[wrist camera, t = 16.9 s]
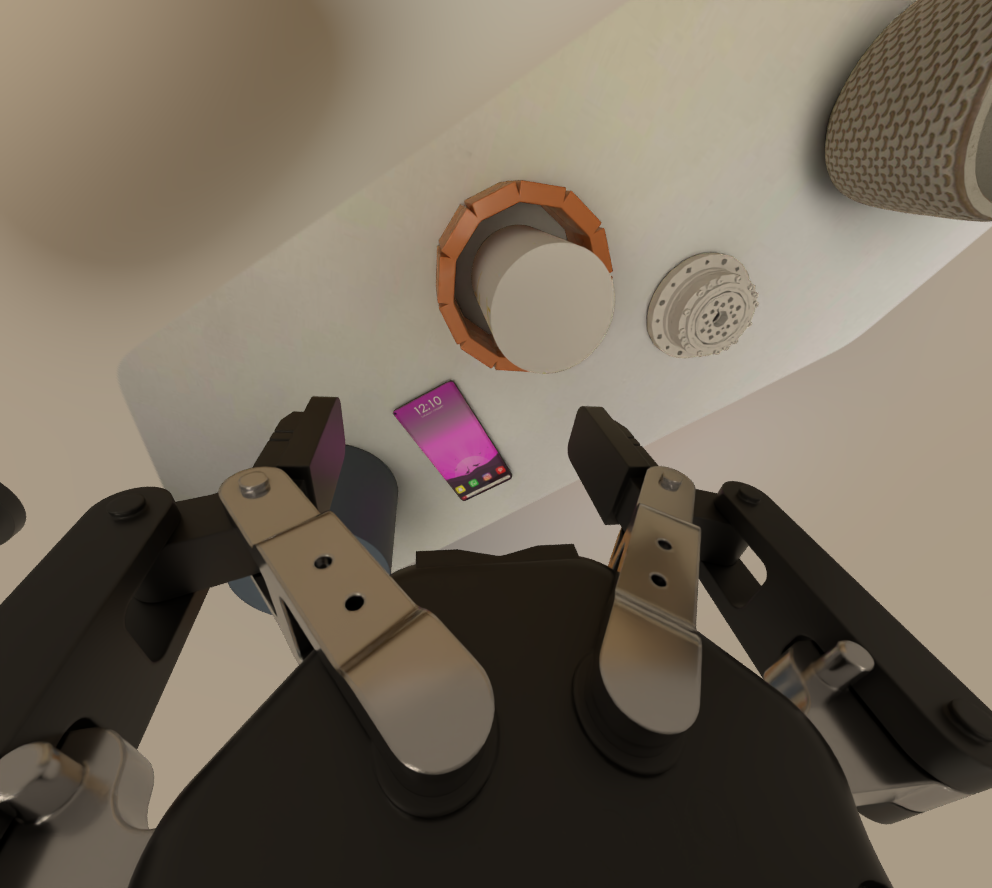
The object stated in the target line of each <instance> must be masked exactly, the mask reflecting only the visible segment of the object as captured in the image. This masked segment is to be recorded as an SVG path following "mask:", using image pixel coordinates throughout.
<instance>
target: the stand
mask: <svg viewBox="0 0 992 888" xmlns="http://www.w3.org/2000/svg"><path fill="white" fill-rule="evenodd" d="M397 499H398V487H397V483H396V480H395V478H394V476H393V474H392V473H391V471H390V470H389V468H388V467H387V466H386V465H385V464H384V463H383V462H382V461H381V460H379V459H378V458H376V457H375V456H373V455H372V454H370V453H368V452H366V451H364V450H361V449H359V448H355V447H352V446H348V445H345V456H344V460H343V464H342V467H341V471H340V474H339V478H338V482H337V485H336V489H335V492H334V496H333V499H332V503H331V506H330V511H332V512H333V513H334V514H335V515H336V516H337V517H338V518H339V519H340V520H341V521H342V522H343V524H344V525H345V526H346V527H347V528H348V529H349V530H350V531H351V532H352V534H353V535H354V536H355V537H356V538H357V539H358V540H359V541H360V543H361V544H362V545H363V546H364V547H365V548H366V549H367V550H368V551H369V553H370V554H371V555H372V556H373V557H374V558H375V559H376V560H377V562H378V563H379V564H380V565H381V566H382V567H383V568H384V569H385V571H386V572H387V573H388V574H389V575H390V574H391V567H392V555H393V544H394V533H395V521H396V510H397ZM228 584H229V586H230V588H231V589H232V591H233V592H234V593H235V594H236V595H237V596H238V597H239V598H240V599H241V600H243V601H244V602H245V603H247V604H249V605H250V606H252V607H254V608H256V609H258V610H260V611H262V612H265V613H268V614H270V615H272V613H271V611H270V610H269V608H268V606H267V604H266V603H265V601H264V599H263V598H262V596H261V594H260V592H259V591H258V589H257V587H256V586H255V584H254V582H253V581H252V579H251V577H250V576H247V577H244V578H241V579H237V580H234V581H231V582H228Z"/></svg>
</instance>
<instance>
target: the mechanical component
mask: <svg viewBox="0 0 992 888" xmlns="http://www.w3.org/2000/svg"><path fill="white" fill-rule="evenodd" d="M757 297H758V293H757V292H756V291H755V285H753V284H752V283H751V281H750V280H749V275H748V273H747V271H746V269H745V267H744V266H743V264H742V263H741V262H739V261H738V260H737V259H735V258H734V257H733V256H729V255H724V254H719V253H703V254H699V255H695V256H693V257H691V258H689V259H687V260H685V261H683V262H682V263H681V264H679V265H678V266H677V267H675V268H674V269H673V270H672V271H670V272H669V274H668V275H667V276H666V277H665V278H664V280H663V281H662V282H661V283H660V285H659V286H658V288H657V290H656V291H655V293H654V295H653V297H652V300H651V302H650V305H649V309H648V314H647V331H648V333H649V335H650V338H651V340H652V342H653V343H654V345H655V346H656V347H657V348H658V349H660V350H661V351H663V352H665V353H666V354H668V355H669V356H672V357H676V358H691V357H696V356H699V357H701V356H708V355H711V354H716V355H718V354H719V353H720V351H722V350H728V349H729V347H730V345H731V344H736V343H737V342H738V338H739V337H740V336H741V335H742V333H743V332H744V331H745V330H746V328H747V327H750V326H751V325H752V322H751V319H752V317H753V314H754V312H755V308H756V307H757V306H758V305H759V303H758V302H757V301H756V298H757Z"/></svg>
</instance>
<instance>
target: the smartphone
mask: <svg viewBox="0 0 992 888" xmlns="http://www.w3.org/2000/svg"><path fill="white" fill-rule="evenodd" d="M393 414H394V416H395V417H396V418H397V419H398V421H399V422H400V423H401V424H402V426H403V427H404V428H405V429H406V431H407V432H408V433H409V435H410V436H411V437H412V438H413V440H414V441H415V442H416V443H417V445H418V446H419V447H420V448H421V450H422V451H423V452H424V453H425V455H426V456H427V457H428V458H429V460H430V461H431V462H432V464H433V465H434V466H435V467H436V469H437V470H438V471H439V472H440V474H441V475H442V476H443V477H444V479H445V480H446V481H447V482H448V484H449V485H450V486H451V487H452V489H453V490H454V491H455V492H456V494H457V495H458V496H459V498H460V499H461V500H463V501H466V500H468V499H470V498H472V497H474V496H476V495H479V494H481V493H483V492H485V491H487V490H489V489H491V488H493V487H495V486H497V485H499V484H502V483H504V482H506V481H508V480H510V479H511V478H512V474H511V472H510V471H509V469H508V467H507V466H506V464H505V463H504V461H503V460H502V458H501V456H500V455H499V453H498V452H497V450H496V449H495V447H494V445H493V444H492V442H491V441H490V439H489V437H488V436H487V434H486V433H485V431H484V430H483V428H482V426H481V425H480V423H479V422H478V420H477V418H476V417H475V415H474V414H473V412H472V411H471V409H470V407H469V406H468V404H467V403H466V401H465V400H464V398H463V396H462V395H461V393H460V392H459V390H458V388H457V387H456V385H455V384H454V382H452V381H448V382H446V383H444V384H442V385H440V386H438V387H436V388H434V389H433V390H431V391H429V392H427V393H425V394H423V395H421V396H420V397H418V398H416V399H414V400H412V401H410V402H408V403H406V404H405V405H403V406H401V407H399V408H397V409H395V410H394V412H393Z"/></svg>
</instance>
